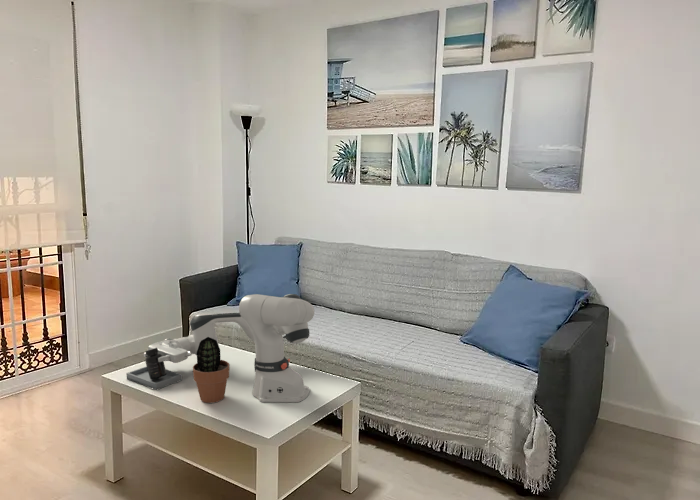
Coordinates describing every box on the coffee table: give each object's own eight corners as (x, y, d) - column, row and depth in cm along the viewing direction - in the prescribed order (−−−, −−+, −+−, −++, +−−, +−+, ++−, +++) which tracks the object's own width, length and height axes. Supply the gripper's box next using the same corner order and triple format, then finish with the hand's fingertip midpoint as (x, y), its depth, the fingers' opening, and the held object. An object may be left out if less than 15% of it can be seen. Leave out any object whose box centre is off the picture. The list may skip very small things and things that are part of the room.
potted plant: (237, 395, 210) (236, 333, 206) (213, 408, 198) (211, 343, 194) (211, 388, 216) (208, 328, 212) (186, 401, 204) (183, 337, 201)
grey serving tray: (181, 380, 224) (181, 374, 224) (156, 390, 214) (156, 384, 214) (152, 369, 236) (152, 364, 235) (126, 378, 226) (126, 373, 225)
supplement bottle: (152, 378, 225) (145, 350, 226) (168, 373, 226) (161, 346, 227) (148, 381, 219) (141, 352, 219) (165, 376, 219) (157, 347, 220)
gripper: (194, 360, 228) (166, 370, 217) (165, 351, 240) (137, 359, 229) (194, 346, 227) (165, 355, 216) (165, 337, 239) (136, 345, 228)
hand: (151, 357), depth 223 cm, fingers open, 8 cm apart
